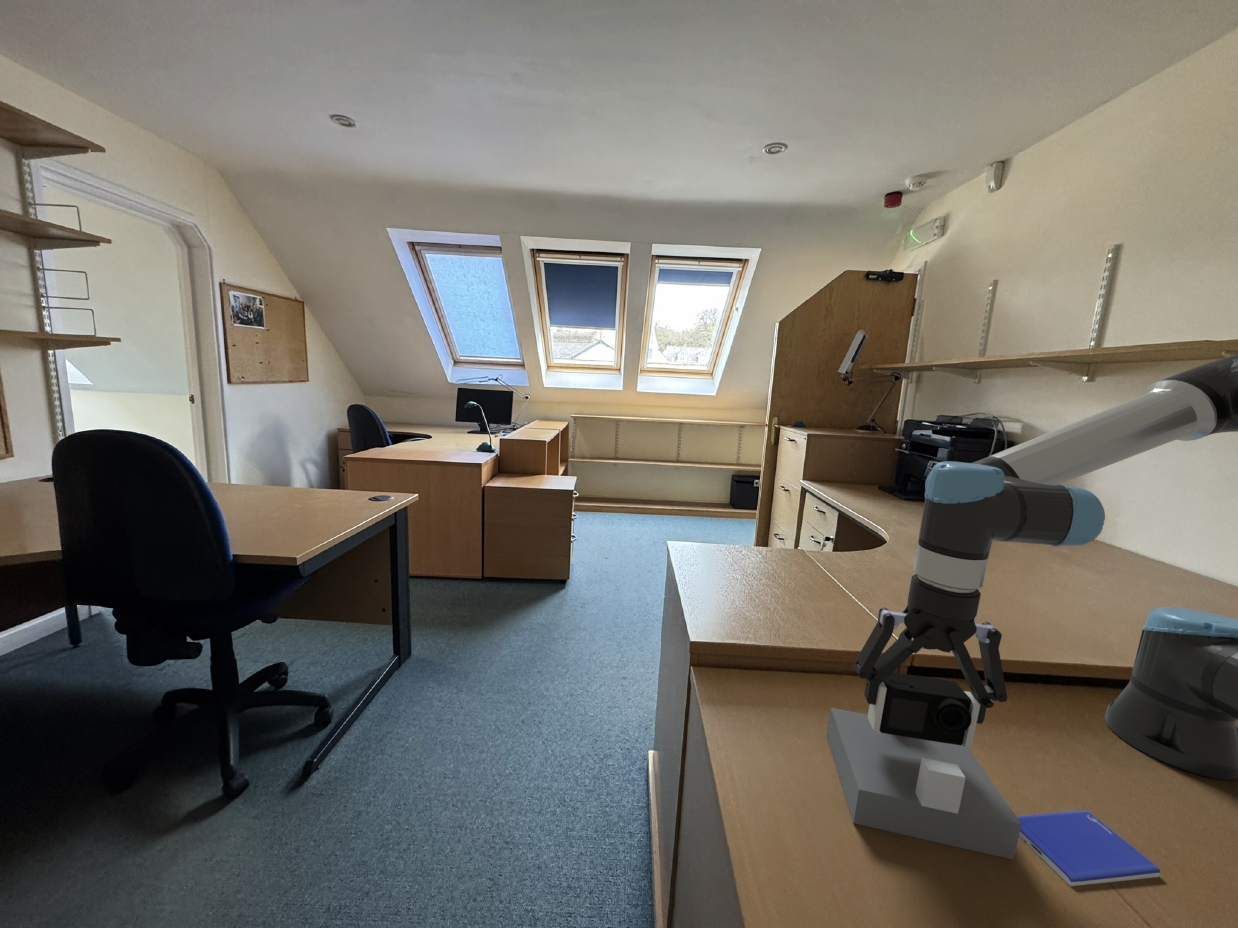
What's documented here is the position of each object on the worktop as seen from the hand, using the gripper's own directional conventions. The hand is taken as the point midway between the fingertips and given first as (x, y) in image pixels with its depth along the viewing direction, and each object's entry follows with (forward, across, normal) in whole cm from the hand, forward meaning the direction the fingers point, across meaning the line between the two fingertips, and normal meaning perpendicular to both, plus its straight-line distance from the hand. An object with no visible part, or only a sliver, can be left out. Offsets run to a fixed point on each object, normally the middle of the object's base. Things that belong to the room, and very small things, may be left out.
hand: (917, 732), depth 65 cm
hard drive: (+10, -18, +4) cm, 21 cm away
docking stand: (+9, 0, 0) cm, 9 cm away
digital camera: (0, 0, 0) cm, 1 cm away
